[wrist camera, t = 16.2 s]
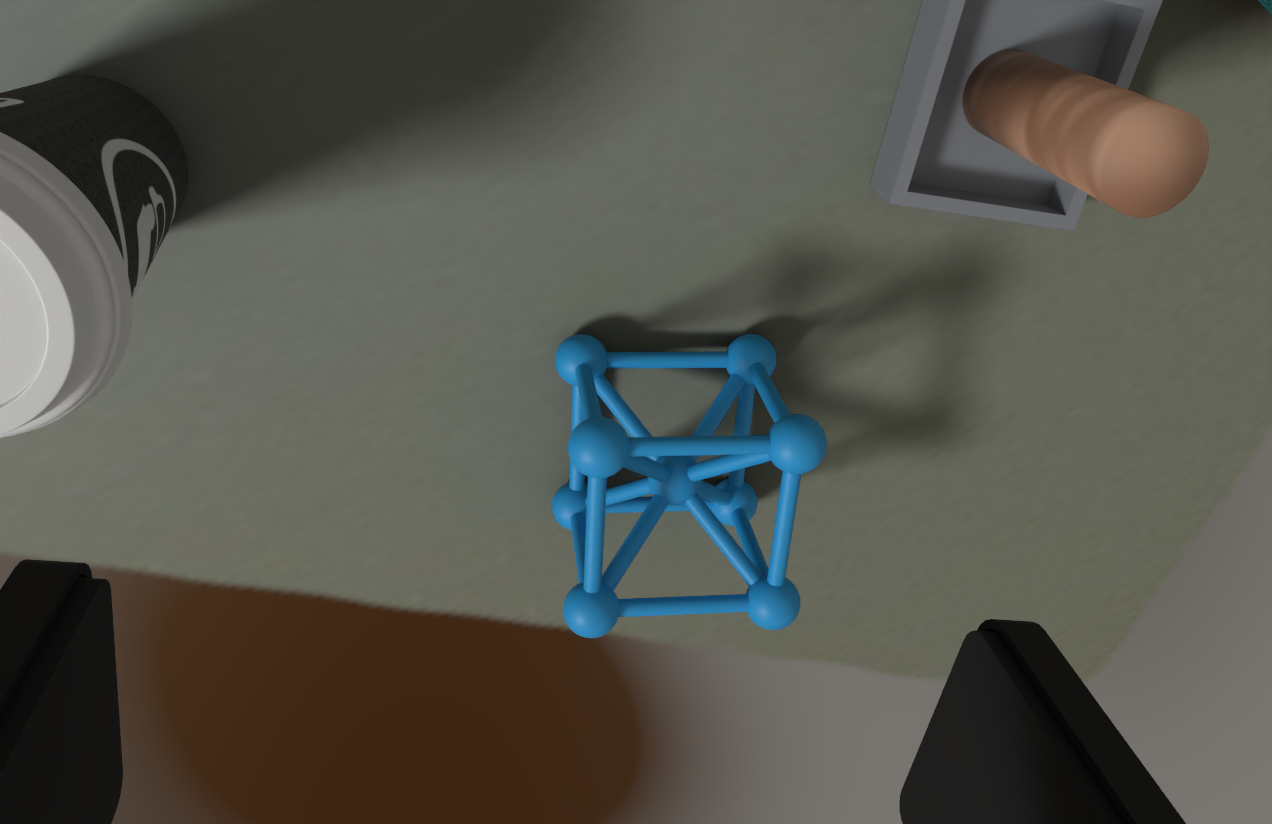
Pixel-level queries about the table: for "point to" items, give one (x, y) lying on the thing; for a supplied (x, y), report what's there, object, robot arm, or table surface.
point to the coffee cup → (76, 236)
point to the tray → (934, 118)
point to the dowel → (1088, 131)
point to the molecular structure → (679, 482)
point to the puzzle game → (1267, 5)
